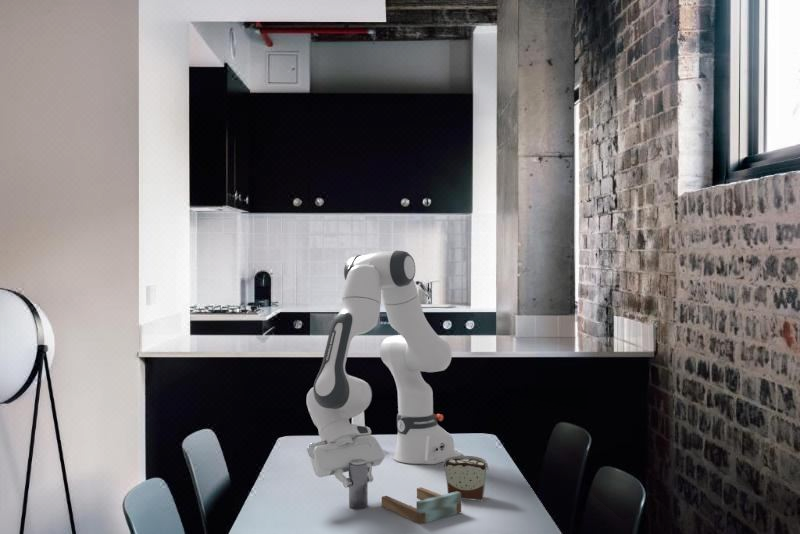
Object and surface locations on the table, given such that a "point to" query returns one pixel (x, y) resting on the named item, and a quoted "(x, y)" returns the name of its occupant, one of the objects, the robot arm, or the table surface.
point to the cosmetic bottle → (359, 419)
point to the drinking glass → (358, 484)
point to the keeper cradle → (426, 506)
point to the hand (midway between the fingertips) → (359, 483)
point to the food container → (466, 476)
